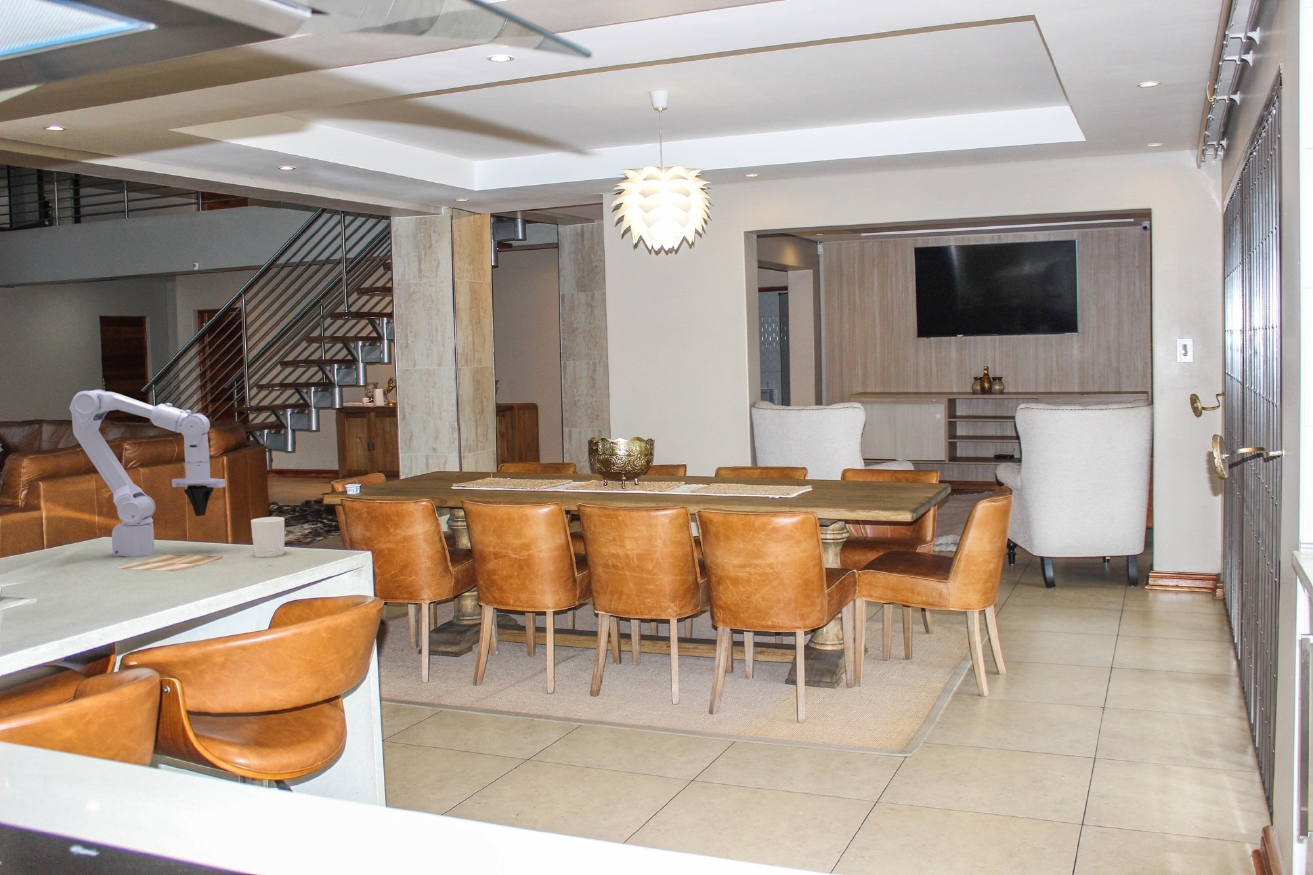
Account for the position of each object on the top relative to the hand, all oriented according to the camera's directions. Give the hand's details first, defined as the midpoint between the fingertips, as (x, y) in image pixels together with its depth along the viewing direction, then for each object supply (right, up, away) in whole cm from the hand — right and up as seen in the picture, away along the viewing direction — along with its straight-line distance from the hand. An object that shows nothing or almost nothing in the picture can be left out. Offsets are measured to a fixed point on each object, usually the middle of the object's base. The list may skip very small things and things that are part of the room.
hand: (200, 515), depth 287 cm
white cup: (+19, -11, -5) cm, 23 cm away
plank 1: (-4, -11, -9) cm, 15 cm away
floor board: (-3, -12, -18) cm, 22 cm away
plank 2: (+4, -11, -11) cm, 17 cm away
